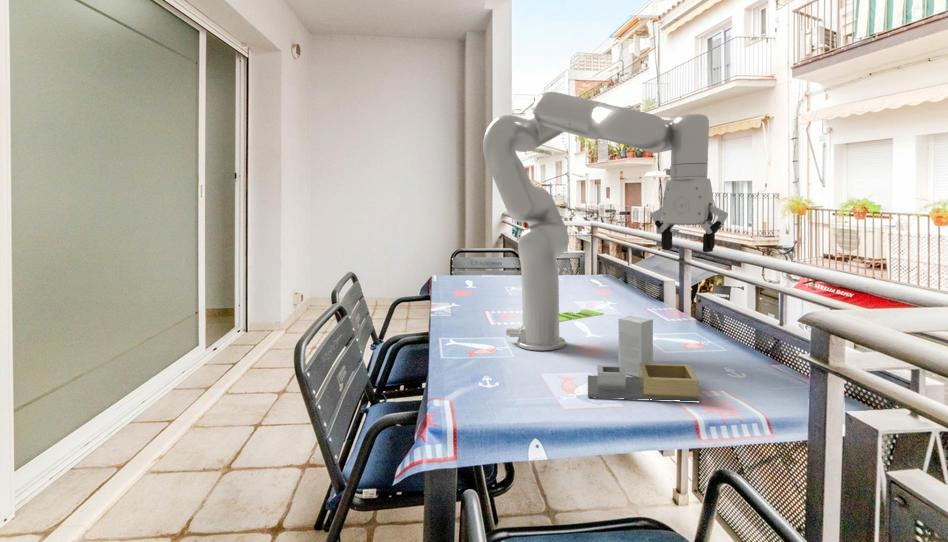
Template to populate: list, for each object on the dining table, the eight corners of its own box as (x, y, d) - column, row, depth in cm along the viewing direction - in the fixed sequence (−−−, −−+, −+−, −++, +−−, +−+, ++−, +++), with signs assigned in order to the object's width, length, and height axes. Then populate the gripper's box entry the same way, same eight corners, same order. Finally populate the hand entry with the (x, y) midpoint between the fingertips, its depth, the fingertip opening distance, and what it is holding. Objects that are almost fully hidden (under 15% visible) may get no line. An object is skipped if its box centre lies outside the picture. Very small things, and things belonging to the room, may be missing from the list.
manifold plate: (587, 398, 100) (587, 377, 99) (587, 379, 111) (587, 360, 110) (700, 403, 96) (700, 382, 95) (688, 382, 106) (689, 363, 106)
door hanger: (585, 310, 181) (525, 320, 169) (585, 309, 181) (525, 318, 169) (604, 314, 173) (543, 325, 161) (604, 313, 173) (543, 323, 161)
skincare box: (653, 374, 112) (654, 319, 111) (641, 378, 110) (642, 322, 108) (629, 368, 117) (629, 315, 116) (617, 372, 114) (617, 318, 113)
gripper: (644, 175, 120) (643, 249, 122) (719, 170, 107) (716, 254, 109) (662, 175, 125) (661, 247, 127) (736, 171, 112) (733, 251, 114)
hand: (686, 250), depth 118 cm, fingers open, 9 cm apart
